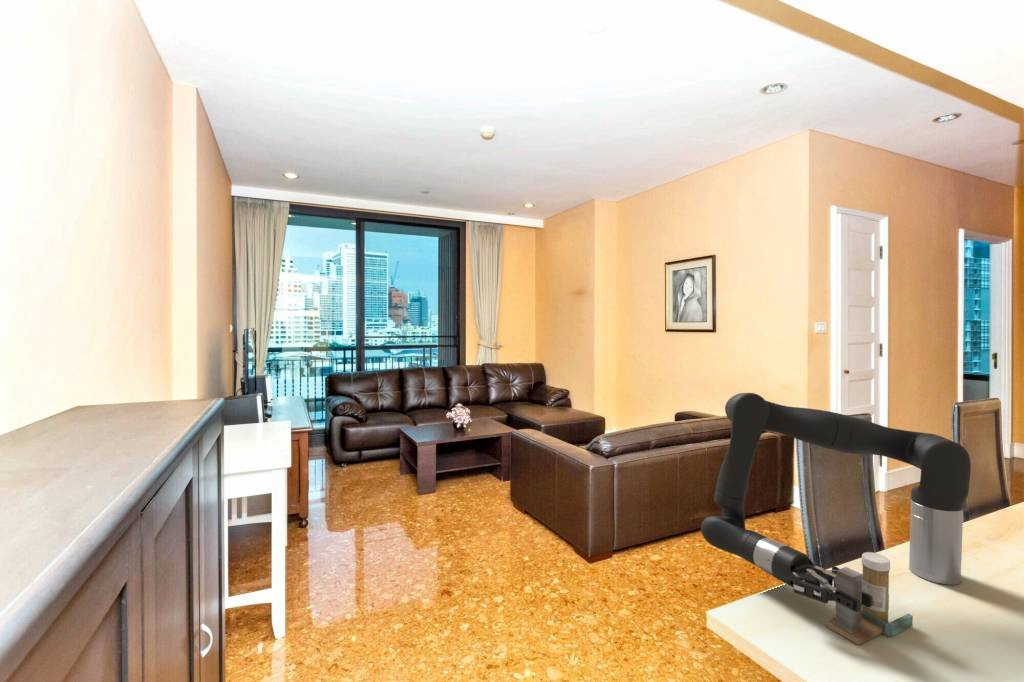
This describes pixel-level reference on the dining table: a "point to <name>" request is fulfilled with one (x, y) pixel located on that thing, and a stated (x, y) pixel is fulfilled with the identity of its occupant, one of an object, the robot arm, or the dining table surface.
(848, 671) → the dining table surface
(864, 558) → the sprinkles bottle
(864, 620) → the stand
